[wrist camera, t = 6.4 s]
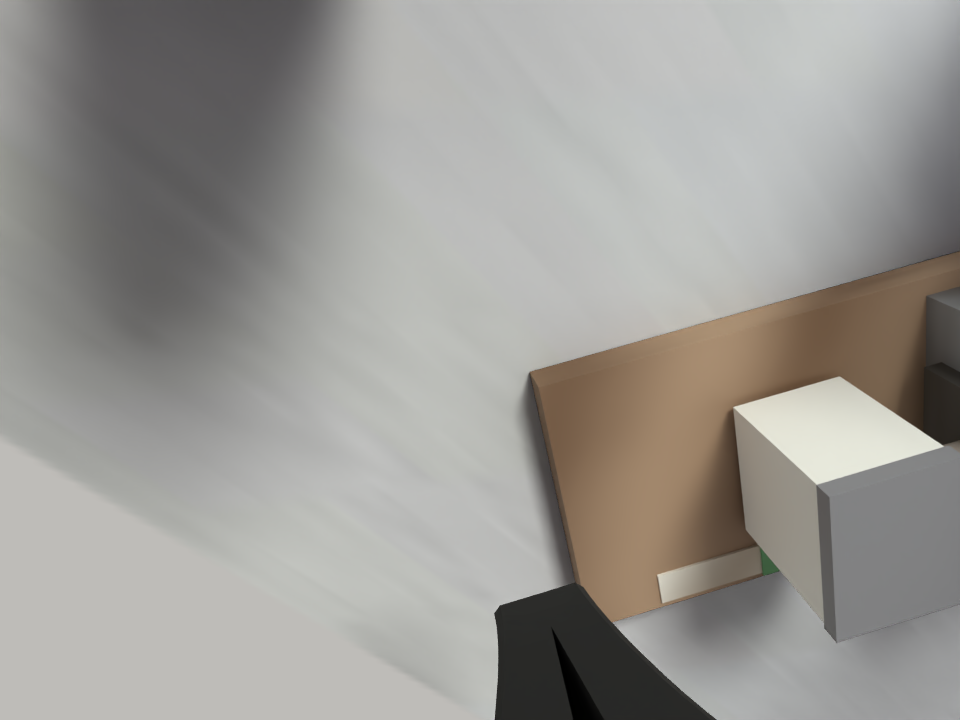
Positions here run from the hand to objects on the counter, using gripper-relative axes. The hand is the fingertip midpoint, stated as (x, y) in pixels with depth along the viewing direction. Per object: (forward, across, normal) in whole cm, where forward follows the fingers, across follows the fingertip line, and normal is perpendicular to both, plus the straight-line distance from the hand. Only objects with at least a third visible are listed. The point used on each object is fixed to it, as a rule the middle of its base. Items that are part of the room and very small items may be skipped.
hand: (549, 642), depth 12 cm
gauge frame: (+9, -9, +4) cm, 14 cm away
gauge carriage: (+8, -8, +5) cm, 12 cm away
